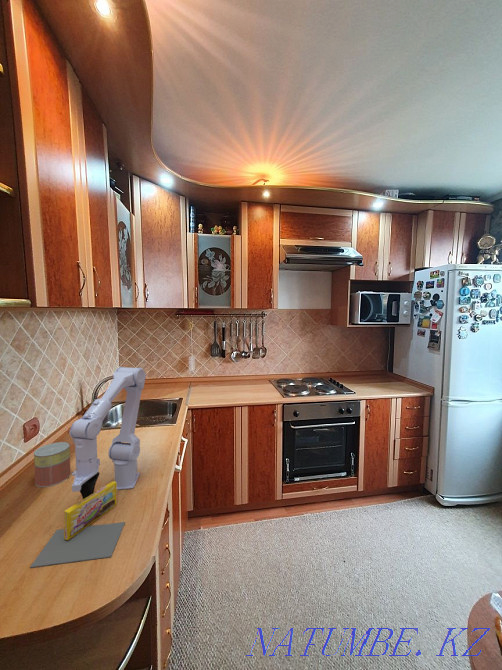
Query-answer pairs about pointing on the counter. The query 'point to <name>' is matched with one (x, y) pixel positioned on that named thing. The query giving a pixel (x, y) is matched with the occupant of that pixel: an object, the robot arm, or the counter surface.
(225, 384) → the counter surface
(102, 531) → the mat
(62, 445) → the canned food
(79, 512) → the candy box
